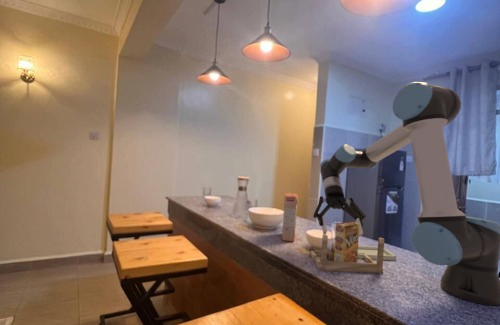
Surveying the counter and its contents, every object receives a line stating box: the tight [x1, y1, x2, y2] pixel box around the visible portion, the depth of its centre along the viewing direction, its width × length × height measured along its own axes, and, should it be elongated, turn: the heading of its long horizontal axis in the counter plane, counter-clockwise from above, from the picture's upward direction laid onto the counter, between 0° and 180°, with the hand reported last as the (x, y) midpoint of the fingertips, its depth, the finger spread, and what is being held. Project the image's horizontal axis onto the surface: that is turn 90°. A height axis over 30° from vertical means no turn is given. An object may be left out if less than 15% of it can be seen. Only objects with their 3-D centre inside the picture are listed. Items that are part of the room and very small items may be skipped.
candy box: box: [333, 221, 359, 262], centre depth 102 cm, size 9×4×15 cm, turn 125°
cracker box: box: [281, 192, 299, 243], centre depth 134 cm, size 14×6×21 cm, turn 168°
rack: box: [309, 234, 385, 275], centre depth 104 cm, size 16×22×12 cm
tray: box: [357, 245, 397, 262], centre depth 116 cm, size 12×16×2 cm
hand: (343, 234), depth 105 cm, fingers open, 13 cm apart
